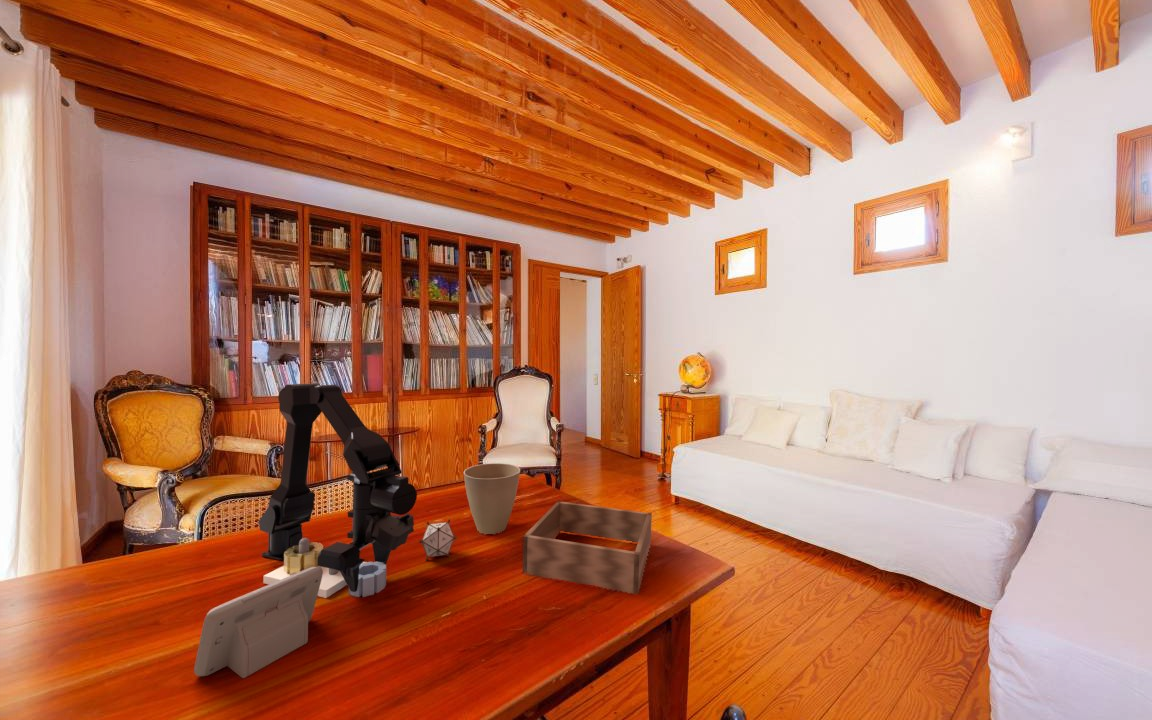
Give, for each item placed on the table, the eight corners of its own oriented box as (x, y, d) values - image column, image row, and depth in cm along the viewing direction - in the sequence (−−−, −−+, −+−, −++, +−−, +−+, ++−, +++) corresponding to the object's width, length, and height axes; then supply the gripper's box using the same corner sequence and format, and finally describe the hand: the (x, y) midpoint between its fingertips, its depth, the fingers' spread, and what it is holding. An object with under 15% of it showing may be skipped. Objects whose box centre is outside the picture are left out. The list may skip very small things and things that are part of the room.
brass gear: (277, 574, 85) (277, 557, 84) (295, 558, 91) (296, 542, 91) (312, 573, 85) (312, 556, 85) (327, 557, 92) (328, 541, 92)
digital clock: (312, 615, 74) (313, 556, 74) (332, 639, 68) (333, 574, 68) (189, 665, 62) (190, 594, 62) (200, 699, 56) (201, 621, 56)
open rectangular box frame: (522, 583, 90) (523, 536, 90) (556, 538, 112) (557, 501, 112) (637, 605, 83) (639, 554, 83) (650, 553, 105) (651, 513, 105)
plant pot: (492, 514, 123) (493, 460, 123) (530, 527, 114) (531, 469, 114) (450, 530, 111) (451, 471, 110) (489, 547, 102) (490, 482, 102)
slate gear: (340, 593, 81) (341, 575, 81) (366, 576, 88) (367, 559, 88) (368, 599, 79) (368, 581, 79) (392, 581, 86) (393, 564, 86)
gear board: (263, 583, 84) (263, 546, 84) (312, 558, 95) (312, 525, 94) (326, 598, 80) (326, 559, 79) (369, 569, 90) (370, 535, 90)
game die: (441, 575, 95) (442, 553, 90) (410, 558, 97) (409, 535, 91) (463, 542, 103) (466, 520, 97) (434, 527, 104) (435, 503, 98)
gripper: (366, 528, 72) (364, 618, 72) (432, 494, 90) (431, 566, 90) (315, 519, 75) (314, 605, 75) (389, 488, 93) (388, 558, 93)
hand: (367, 582), depth 84 cm, fingers closed on slate gear, 7 cm apart
